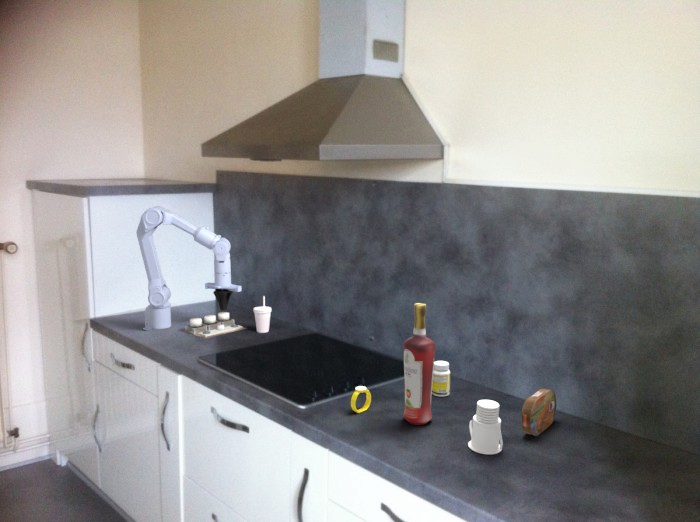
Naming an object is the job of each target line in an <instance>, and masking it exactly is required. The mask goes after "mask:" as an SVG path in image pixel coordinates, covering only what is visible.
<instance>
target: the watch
mask: <svg viewBox="0 0 700 522" xmlns="http://www.w3.org/2000/svg"><path fill="white" fill-rule="evenodd" d="M360 393H365V394H366V395H365V398H366V399H365V403H364V405H363V406H362V407H361V408H359V409H357V407H356V402H357V398H358V396H359V395H360ZM371 402H372V393H371V392H370V390H369V389H368V388H367V387H366V386H365V385H364V386H363V385H358V386H355V390H354V392H353V394H352V396H351V398H350V406H351V407H350V408H351V411H354V412H355V413H357V414H360V413H363V412H365V411H367V410H369V407H370V405H371Z"/></svg>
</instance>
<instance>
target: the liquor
mask: <svg viewBox="0 0 700 522" xmlns="http://www.w3.org/2000/svg"><path fill="white" fill-rule="evenodd" d="M413 305H414V307H413V308H414V309H413V312H414V325H413V333H412V336H410V337H408V338H406V340H404V341H403V342H402V343H403V372H404V373H403V374H404V412H403V413H402V416H403V418H404V419H405V420H406V421H407V422H408V423H409V424H411V425H415V426H423V425H426V424H427V423H428V422H429V421H430V420H431V419H432V418H433V414H432V411H431V408H432V395H433V394H432V380H433V370H434V362H435V355H436V353H435V352H436V342H435V341H433V339H431V338H429V337H427V332H426V331H427V330H426V320H425V319H426V314H427V304H426V303H422V302H417V303H414V304H413Z"/></svg>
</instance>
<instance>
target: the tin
mask: <svg viewBox="0 0 700 522" xmlns="http://www.w3.org/2000/svg"><path fill="white" fill-rule="evenodd" d="M556 409H557V396H556V393H555V391H554V389H545V388H540V389H539V390H537V391H535V392H534V393H533V394H532V395H530V396H529V397H527V398H526V400H524V403H523V405H522V409H521V430H522V431H523V433H524V434H526V435H531V436H534V437H538V436H539V435H541V434H542V433H543V432H544V431H545V430H547V429H548V428H549V427H550V426H552V424H553V423H554V419H555V416H556V411H557V410H556Z"/></svg>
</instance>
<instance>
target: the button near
mask: <svg viewBox="0 0 700 522" xmlns="http://www.w3.org/2000/svg"><path fill="white" fill-rule="evenodd" d="M202 322H203V319H202V318H201V317H192V318H190V319H189V325H190V326H191V327H199V326H202Z"/></svg>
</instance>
